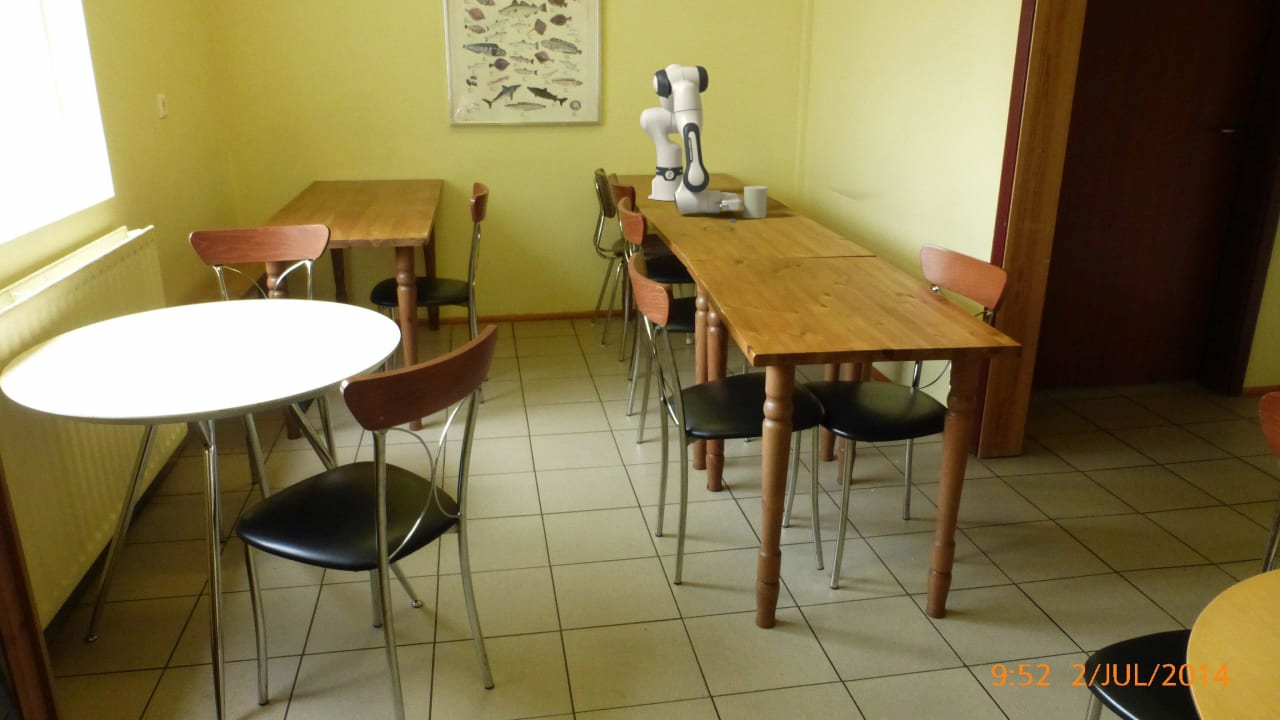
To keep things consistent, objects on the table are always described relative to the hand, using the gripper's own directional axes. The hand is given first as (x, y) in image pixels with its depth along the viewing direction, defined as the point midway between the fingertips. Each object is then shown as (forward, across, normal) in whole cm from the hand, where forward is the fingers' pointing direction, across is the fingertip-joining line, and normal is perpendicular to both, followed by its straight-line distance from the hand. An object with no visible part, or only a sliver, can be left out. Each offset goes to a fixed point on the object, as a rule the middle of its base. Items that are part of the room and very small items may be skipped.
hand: (750, 201), depth 368 cm
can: (+2, -2, +6) cm, 6 cm away
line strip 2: (-8, -10, +6) cm, 14 cm away
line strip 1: (-8, +11, +6) cm, 14 cm away
